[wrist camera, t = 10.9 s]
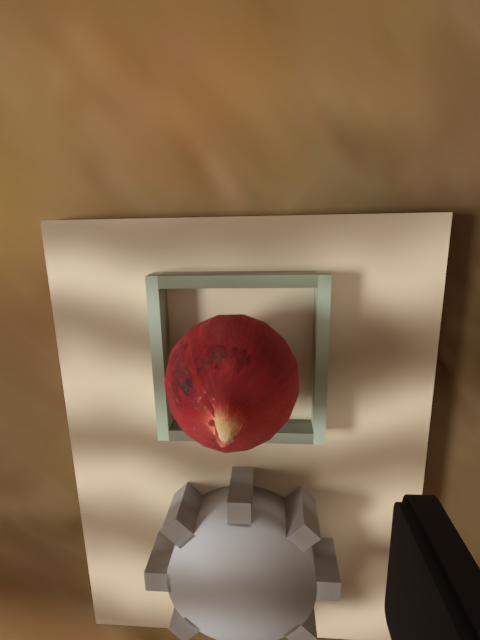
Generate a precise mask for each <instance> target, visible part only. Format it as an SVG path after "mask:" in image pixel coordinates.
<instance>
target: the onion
mask: <svg viewBox="0 0 480 640" xmlns="http://www.w3.org/2000/svg"><path fill="white" fill-rule="evenodd" d="M164 385H165V390H166V394H167V398H168V403H169V407H170V411H171V413H172V415H173V417H174V419H175V420H176V421H177V423H178V424H179V426H180V427H181V428H182V430H183V431H184V433H185V434H186V435H187V436H189V437H190V438H192V439H193V440H195V441H196V442H198V443H199V444H201V445H202V446H204V447H207V448H210V449H213V450H217V451H220V452H223V453H231V452H239V451H247V450H250V449H252V448H254V447H256V446H258V445H261V444H263V443H265V442H267V441H269V440H270V439H271V438H272V437H273V436H274V435H275V434H276V433H277V432H278V431H279V430H280V429H281V428H282V427H283V426H284V425H285V424H286V422H287V421H288V420H289V418H290V416H291V413H292V411H293V408H294V406H295V403H296V401H297V398H298V396H299V373H298V362H297V360H296V358H295V356H294V354H293V353H292V351H291V349H290V347H289V346H288V344H287V342H286V340H285V339H284V338H283V337H282V336H281V335H280V334H278V333H277V332H276V331H275V330H274V329H273V328H271V327H270V326H269V325H268V324H267V323H266V322H263V321H261V320H258V319H255V318H252V317H250V316H247V315H244V314H231V315H217V316H214V317H212V318H210V319H207V320H205V321H203V322H200V323H198V324H196V325H194V326H192V327H191V328H189V329H188V331H187V332H186V333H185V334H184V335H183V337H182V338H181V339H180V340H179V342H178V343H177V344H176V345H175V346H174V348H173V349H172V351H171V354H170V356H169V360H168V365H167V370H166V375H165V380H164Z"/></svg>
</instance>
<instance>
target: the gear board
mask: <svg viewBox="0 0 480 640" xmlns="http://www.w3.org/2000/svg"><path fill="white" fill-rule="evenodd" d="M452 214H453V212H434V213H384V214H333V215H283V216H233V217H183V218H133V219H83V220H40V223H41V230H42V237H43V244H44V252H45V259H46V266H47V273H48V280H49V288H50V295H51V302H52V309H53V317H54V324H55V331H56V338H57V345H58V353H59V360H60V367H61V374H62V381H63V389H64V396H65V403H66V410H67V417H68V425H69V432H70V439H71V446H72V453H73V461H74V468H75V475H76V482H77V490H78V497H79V504H80V511H81V518H82V526H83V533H84V540H85V547H86V554H87V562H88V569H89V576H90V583H91V590H92V598H93V605H94V612H95V619H96V624H112V625H128V626H144V627H160V628H169V631H171V632H172V633H173V634H174V635H176V636H177V637H178V638H179V639H181V640H188V639H190V638H191V637H192V636H194V635H195V634H196V633H198V632H199V631H200V632H201V633H203V634H205V635H207V636H209V637H211V638H214V639H217V640H279V639H281V638H283V637H286V638H287V639H289V640H317V637H319V638H335V639H351V640H391V637H390V633H389V630H388V626H387V622H386V617H385V607H384V605H385V592H386V582H387V571H388V560H389V550H390V539H391V529H392V518H393V508H394V504H395V502H402V500H403V497H404V495H406V494H413V495H422V492H423V483H424V474H425V464H426V455H427V446H428V437H429V427H430V418H431V409H432V399H433V390H434V381H435V372H436V362H437V353H438V344H439V335H440V325H441V316H442V307H443V298H444V288H445V279H446V270H447V261H448V251H449V242H450V233H451V223H452ZM231 314H244V315H247V316H250V317H252V318H255V319H258V320H261V321H263V322H266V323H267V324H268V325H269V326H270V327H271V328H273V329H274V330H275V331H276V332H277V333H278V334H280V335H281V336H282V337H283V338H284V339H285V340H286V342H287V344H288V346H289V347H290V349H291V351H292V353H293V354H294V356H295V358H296V360H297V362H298V373H299V396H298V398H297V401H296V403H295V406H294V408H293V411H292V413H291V416H290V418H289V420H288V421H287V422H286V424H285V425H284V426H283V427H282V428H281V429H280V430H279V431H278V432H277V433H276V434H275V435H274V436H273V437H272V438H271V439H270V440H269V441H267V442H265V443H263V444H261V445H258V446H256V447H254V448H252V449H250V450H247V451H239V452H231V453H223V452H220V451H217V450H213V449H210V448H207V447H204V446H202V445H201V444H199V443H198V442H196V441H195V440H193V439H192V438H190V437H189V436H187V435H186V434H185V433H184V431H183V430H182V428H181V427H180V426H179V424H178V423H177V421H176V420H175V419H174V417H173V415H172V413H171V411H170V407H169V403H168V398H167V394H166V390H165V385H164V380H165V375H166V370H167V365H168V360H169V356H170V354H171V351H172V349H173V348H174V346H175V345H176V344H177V343H178V342H179V340H180V339H181V338H182V337H183V335H184V334H185V333H186V332H187V331H188V329H189V328H191V327H192V326H194V325H196V324H198V323H200V322H203V321H205V320H207V319H210V318H212V317H214V316H217V315H231Z"/></svg>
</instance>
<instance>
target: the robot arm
mask: <svg viewBox="0 0 480 640" xmlns="http://www.w3.org/2000/svg"><path fill="white" fill-rule="evenodd" d="M384 607H385V617H386V622H387V626H388V630H389V633H390V637H391V640H480V569H479V567H478V565H477V564H476V562H475V560H474V559H473V557H472V555H471V554H470V552H469V550H468V549H467V547H466V545H465V544H464V542H463V540H462V538H461V537H460V535H459V533H458V532H457V530H456V528H455V527H454V525H453V523H452V522H451V520H450V518H449V517H448V515H447V513H446V512H445V510H444V508H443V507H442V505H441V503H440V502H439V500H438V499H437V497H436V496H434V495H413V494H406V495H404V497H403V500H402V502H395V504H394V508H393V518H392V529H391V539H390V550H389V560H388V571H387V582H386V592H385V605H384Z"/></svg>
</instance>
